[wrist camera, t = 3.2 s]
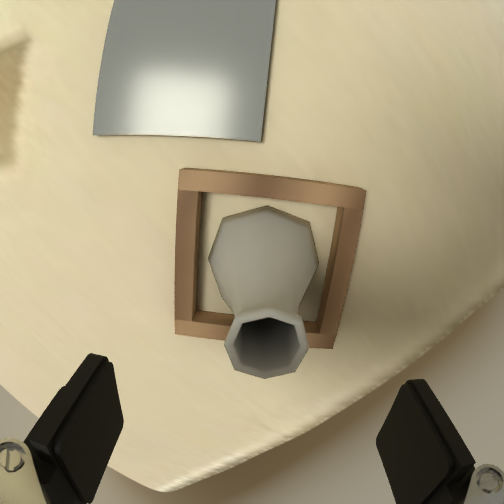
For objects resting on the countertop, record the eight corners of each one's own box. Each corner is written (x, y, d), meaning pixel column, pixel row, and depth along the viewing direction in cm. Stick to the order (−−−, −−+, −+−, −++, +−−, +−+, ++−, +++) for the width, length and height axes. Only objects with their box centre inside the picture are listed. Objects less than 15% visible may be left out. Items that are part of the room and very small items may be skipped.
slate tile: (277, -11, 15) (277, -15, 15) (260, 141, 19) (260, 141, 18) (120, -7, 15) (116, -10, 15) (96, 135, 19) (92, 135, 18)
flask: (311, 310, 22) (341, 411, 13) (209, 305, 22) (179, 406, 13) (323, 208, 20) (377, 260, 11) (209, 202, 20) (165, 250, 11)
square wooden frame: (358, 187, 19) (366, 190, 18) (328, 336, 23) (332, 348, 21) (185, 167, 19) (179, 169, 18) (179, 322, 23) (174, 334, 21)
